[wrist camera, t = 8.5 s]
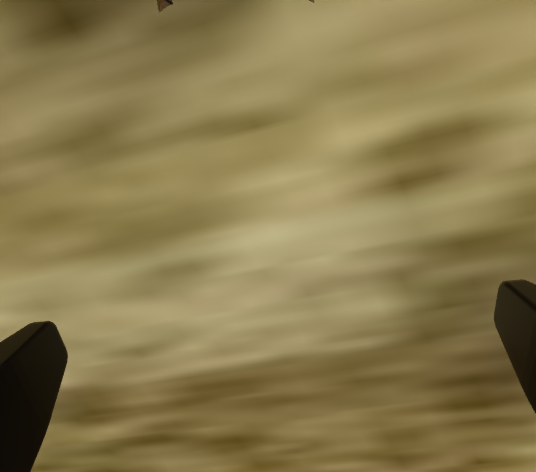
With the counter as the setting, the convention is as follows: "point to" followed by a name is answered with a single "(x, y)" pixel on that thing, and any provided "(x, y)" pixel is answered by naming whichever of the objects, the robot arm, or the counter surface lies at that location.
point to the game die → (166, 0)
